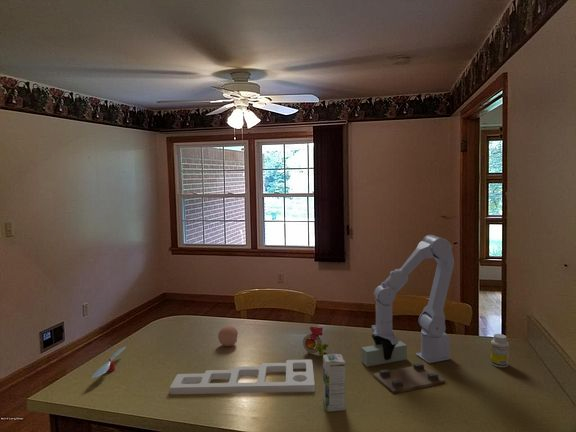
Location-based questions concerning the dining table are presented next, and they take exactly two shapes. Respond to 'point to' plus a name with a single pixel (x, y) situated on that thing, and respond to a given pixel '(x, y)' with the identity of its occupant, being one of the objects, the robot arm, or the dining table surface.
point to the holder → (257, 387)
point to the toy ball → (228, 336)
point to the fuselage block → (382, 354)
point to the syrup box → (333, 382)
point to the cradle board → (408, 378)
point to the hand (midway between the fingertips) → (384, 356)
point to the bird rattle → (311, 343)
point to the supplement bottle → (500, 351)
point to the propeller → (108, 365)
